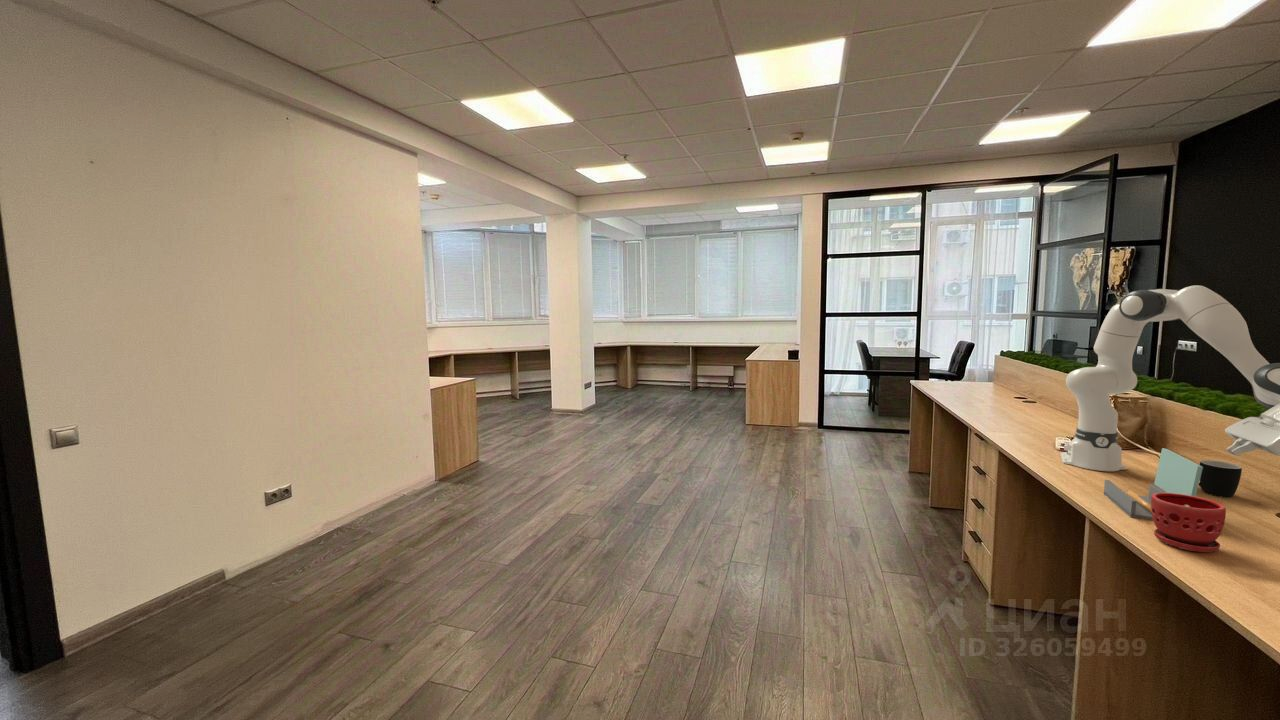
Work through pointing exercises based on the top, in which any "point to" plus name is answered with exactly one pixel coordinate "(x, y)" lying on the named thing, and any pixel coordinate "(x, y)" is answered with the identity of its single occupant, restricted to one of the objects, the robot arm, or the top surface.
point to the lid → (1177, 474)
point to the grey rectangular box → (1131, 500)
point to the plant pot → (1187, 521)
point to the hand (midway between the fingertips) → (1231, 452)
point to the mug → (1219, 478)
